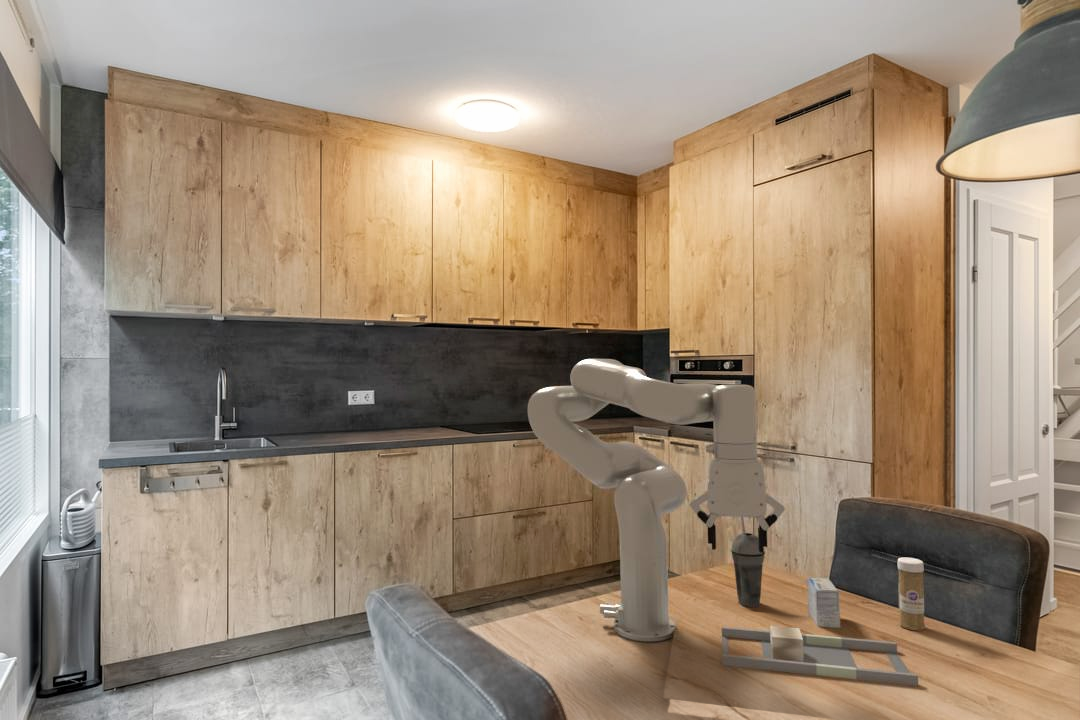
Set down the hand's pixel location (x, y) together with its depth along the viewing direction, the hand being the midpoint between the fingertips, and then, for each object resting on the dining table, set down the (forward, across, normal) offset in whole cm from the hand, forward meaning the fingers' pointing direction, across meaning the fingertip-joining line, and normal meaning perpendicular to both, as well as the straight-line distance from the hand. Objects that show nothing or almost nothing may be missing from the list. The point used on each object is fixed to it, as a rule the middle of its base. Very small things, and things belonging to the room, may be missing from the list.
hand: (737, 548), depth 114 cm
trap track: (+20, +12, 0) cm, 23 cm away
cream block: (+18, +8, 0) cm, 20 cm away
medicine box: (+20, +17, +19) cm, 32 cm away
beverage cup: (+20, +3, +29) cm, 35 cm away
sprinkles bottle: (+20, +34, +23) cm, 46 cm away
